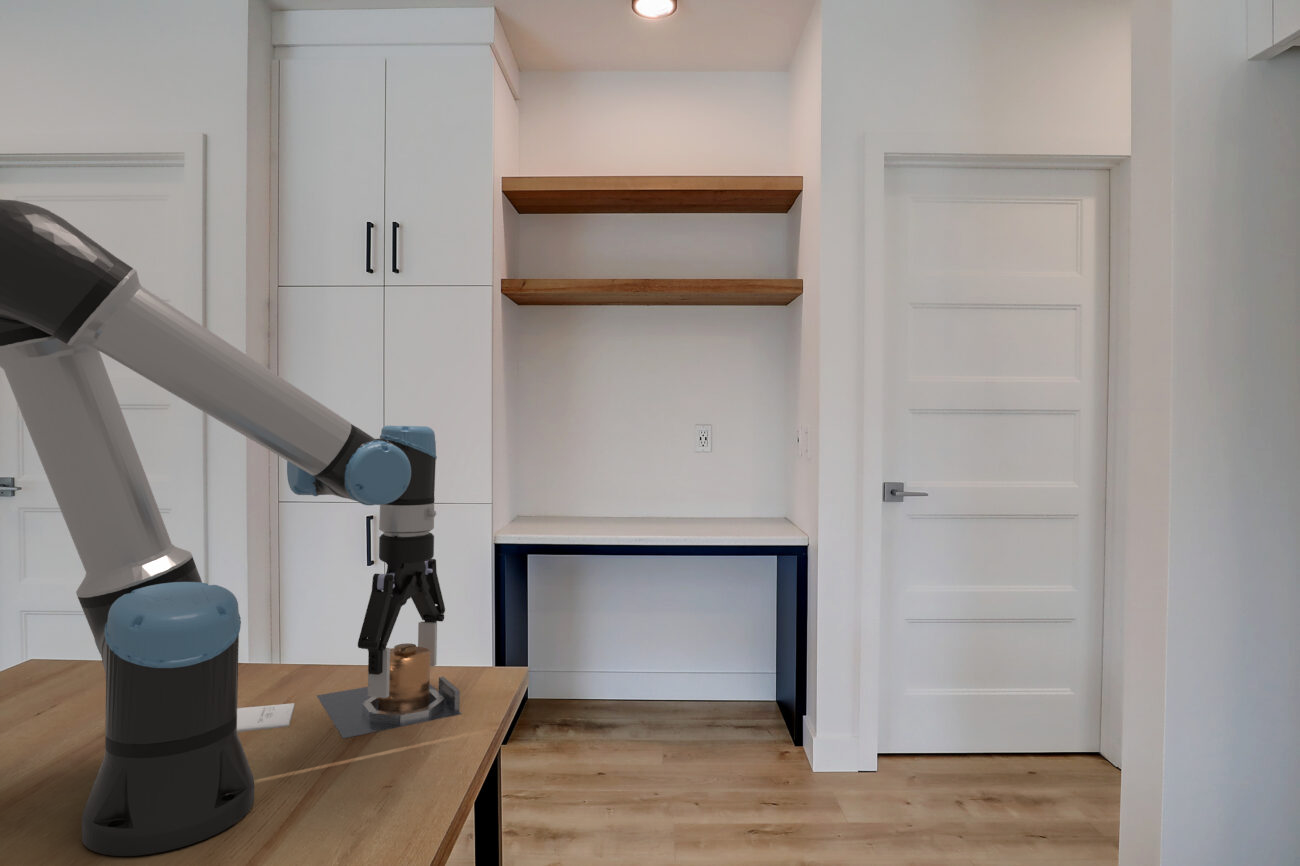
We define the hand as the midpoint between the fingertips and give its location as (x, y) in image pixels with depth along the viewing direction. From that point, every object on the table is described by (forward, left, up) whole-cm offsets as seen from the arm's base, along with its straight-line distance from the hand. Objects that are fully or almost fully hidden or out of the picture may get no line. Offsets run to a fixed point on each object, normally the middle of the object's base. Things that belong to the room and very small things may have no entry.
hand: (404, 679), depth 107 cm
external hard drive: (+7, +20, -6) cm, 22 cm away
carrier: (+3, +2, -5) cm, 6 cm away
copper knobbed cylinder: (0, 0, -4) cm, 4 cm away
